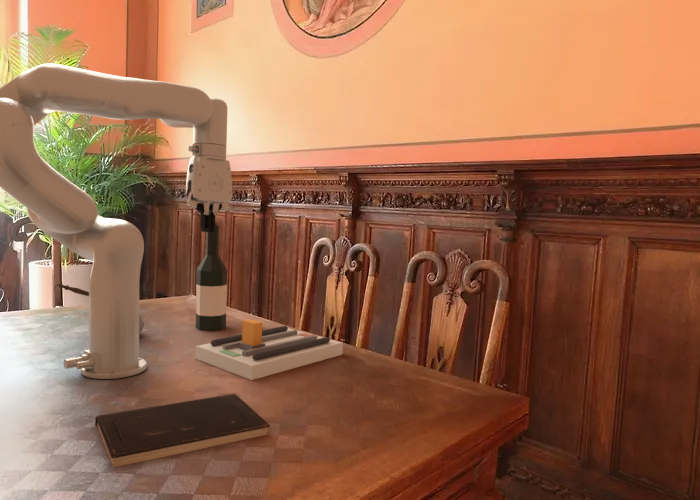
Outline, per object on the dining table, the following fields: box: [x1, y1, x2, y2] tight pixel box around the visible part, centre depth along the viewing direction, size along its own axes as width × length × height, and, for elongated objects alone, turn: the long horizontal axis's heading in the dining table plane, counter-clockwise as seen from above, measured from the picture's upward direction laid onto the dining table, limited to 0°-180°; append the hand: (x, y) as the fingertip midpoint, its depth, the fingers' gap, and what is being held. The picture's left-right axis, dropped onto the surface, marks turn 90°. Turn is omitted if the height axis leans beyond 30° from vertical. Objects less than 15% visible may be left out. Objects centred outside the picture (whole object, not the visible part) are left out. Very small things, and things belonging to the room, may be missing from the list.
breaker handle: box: [238, 319, 265, 350], centre depth 122 cm, size 4×5×6 cm
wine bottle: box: [195, 221, 228, 332], centre depth 151 cm, size 8×8×30 cm
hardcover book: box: [94, 393, 271, 468], centre depth 85 cm, size 16×23×2 cm
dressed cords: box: [210, 325, 330, 360], centre depth 126 cm, size 23×16×1 cm
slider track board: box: [195, 327, 344, 381], centre depth 127 cm, size 28×20×4 cm
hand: (207, 231), depth 126 cm, fingers closed
